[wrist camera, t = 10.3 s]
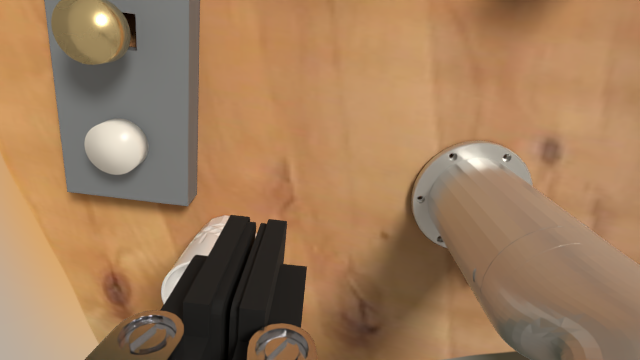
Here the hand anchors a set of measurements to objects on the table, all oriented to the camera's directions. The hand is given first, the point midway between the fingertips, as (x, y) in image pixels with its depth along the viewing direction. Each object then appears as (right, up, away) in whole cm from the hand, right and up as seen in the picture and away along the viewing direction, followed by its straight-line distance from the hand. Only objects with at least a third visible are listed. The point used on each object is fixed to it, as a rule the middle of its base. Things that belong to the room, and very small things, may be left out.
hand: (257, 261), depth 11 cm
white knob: (-17, +7, +27) cm, 33 cm away
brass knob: (-15, +15, +21) cm, 30 cm away
